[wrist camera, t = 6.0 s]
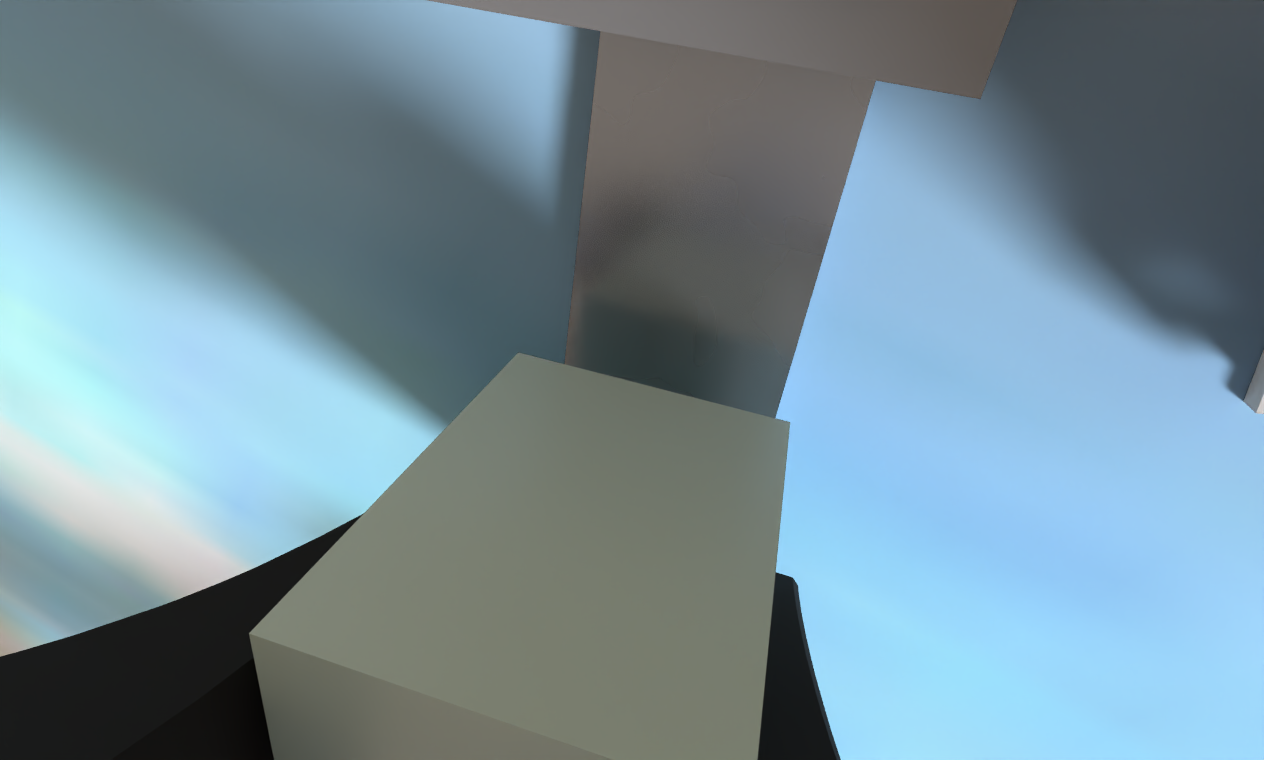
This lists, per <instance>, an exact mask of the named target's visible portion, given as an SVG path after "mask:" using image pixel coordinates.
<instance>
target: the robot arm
mask: <svg viewBox="0 0 1264 760" xmlns="http://www.w3.org/2000/svg"><path fill="white" fill-rule="evenodd" d="M362 515H363V514H362ZM362 515H360V516H358V517H356V518H354V519H353V520H351V521H349V522H347V523H345V524H343V525H341V526H339V527H337V528H336V529H334V530H332V531H330V532H328V533H326V534H324V535H322V536H320V537H318V538H316V539H314V540H312V541H310V542H308V543H306V544H304V545H302V546H300V547H297V548H295V549H293V550H291V551H289V552H287V553H285V554H283V555H281V556H279V557H277V558H275V559H273V560H270V561H268V562H266V563H264V564H262V565H260V566H258V567H256V568H253V569H251V570H249V571H247V572H244V573H242V574H240V575H237V576H235V577H233V578H230V579H228V580H226V581H223V582H221V583H219V584H216V585H214V586H211V587H209V588H206V589H203V590H201V591H198V592H196V593H193V594H191V595H188V596H186V597H183V598H181V599H178V600H176V601H173V602H170V603H168V604H165V605H162V606H159V607H157V608H154V609H151V610H148V611H145V612H142V613H139V614H136V615H133V616H130V617H127V618H124V619H121V620H118V621H115V622H112V623H109V624H106V625H103V626H100V627H97V628H94V629H91V630H88V631H86V632H83V633H80V634H77V635H73V636H70V637H67V638H64V639H60V640H57V641H54V642H50V643H47V644H43V645H40V646H37V647H33V648H30V649H26V650H23V651H19V652H16V653H12V654H8V655H5V656H1V657H0V760H274V757H273V752H272V747H271V742H270V737H269V732H268V726H267V721H266V716H265V711H264V706H263V701H262V696H261V691H260V686H259V681H258V676H257V671H256V666H255V661H254V656H253V651H252V646H251V641H250V636H249V633H250V632H251V631H252V630H253V629H254V628H255V627H256V626H257V625H258V623H259V622H260V621H261V620H262V619H263V618H264V617H265V616H266V615H267V614H268V613H269V612H270V611H271V610H272V609H273V608H274V607H275V606H276V605H277V604H278V603H279V602H280V601H281V599H282V598H283V597H284V596H285V595H286V594H287V593H288V592H289V591H290V590H291V589H292V588H293V587H294V586H295V585H296V584H297V583H298V582H299V581H300V580H301V579H302V578H303V577H304V575H305V574H306V573H307V572H308V571H309V570H310V569H311V568H312V567H313V566H314V565H315V564H316V563H317V562H318V561H319V560H320V559H321V558H322V557H323V556H324V555H325V554H326V553H327V551H328V550H329V549H330V548H331V547H332V546H333V545H334V544H335V543H336V542H337V541H338V540H339V539H340V538H341V537H342V536H343V535H344V534H345V533H346V532H347V531H348V530H349V529H350V527H351V526H352V525H353V524H354V523H355V522H356V521H357V520H358V519H359V518H360V517H361V516H362ZM757 760H841V759H840V756H839V754H838V751H837V748H836V744H835V741H834V738H833V735H832V732H831V729H830V726H829V722H828V719H827V715H826V712H825V708H824V705H823V701H822V698H821V694H820V691H819V687H818V684H817V680H816V676H815V672H814V669H813V665H812V661H811V656H810V652H809V648H808V643H807V639H806V634H805V629H804V624H803V619H802V613H801V607H800V600H799V592H798V585H797V584H796V582H795V580H794V579H793V578H792V577H789V576H786V575H783V574H779V573H775V583H774V593H773V604H772V614H771V624H770V635H769V645H768V656H767V666H766V676H765V687H764V697H763V707H762V718H761V728H760V738H759V749H758V759H757Z"/></svg>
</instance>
